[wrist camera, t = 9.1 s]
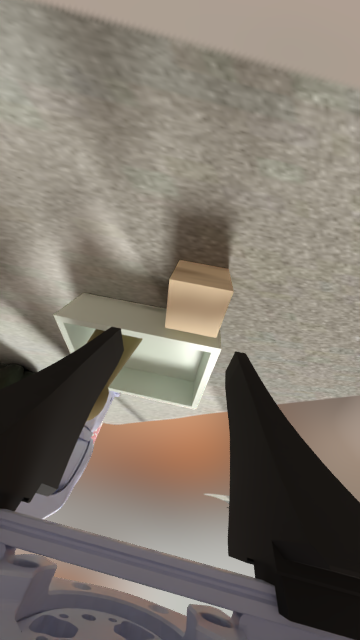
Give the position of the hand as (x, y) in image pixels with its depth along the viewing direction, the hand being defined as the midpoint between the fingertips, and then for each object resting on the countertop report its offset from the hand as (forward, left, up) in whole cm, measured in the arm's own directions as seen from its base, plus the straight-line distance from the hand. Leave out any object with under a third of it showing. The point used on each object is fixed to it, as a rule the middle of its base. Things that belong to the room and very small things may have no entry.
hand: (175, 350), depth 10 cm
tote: (-10, +5, -10) cm, 15 cm away
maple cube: (0, -1, -10) cm, 10 cm away
